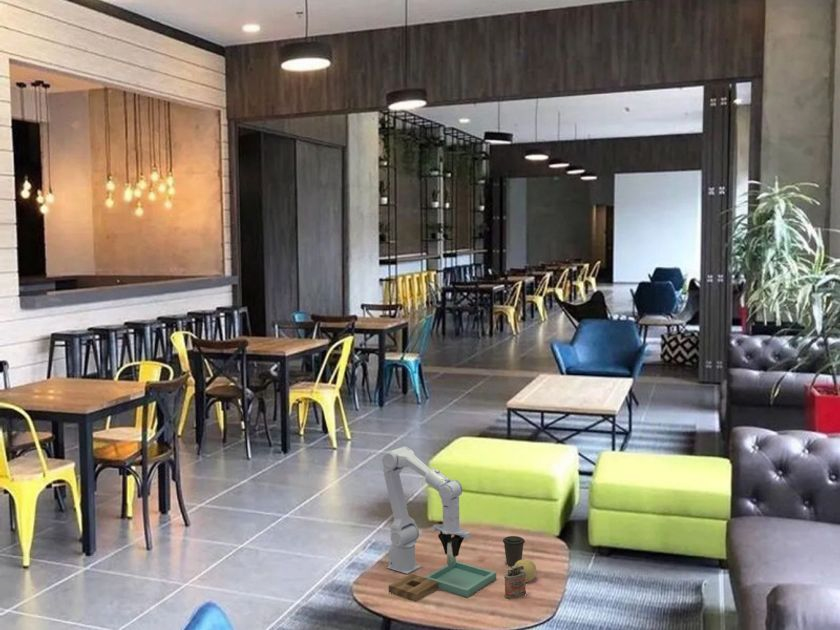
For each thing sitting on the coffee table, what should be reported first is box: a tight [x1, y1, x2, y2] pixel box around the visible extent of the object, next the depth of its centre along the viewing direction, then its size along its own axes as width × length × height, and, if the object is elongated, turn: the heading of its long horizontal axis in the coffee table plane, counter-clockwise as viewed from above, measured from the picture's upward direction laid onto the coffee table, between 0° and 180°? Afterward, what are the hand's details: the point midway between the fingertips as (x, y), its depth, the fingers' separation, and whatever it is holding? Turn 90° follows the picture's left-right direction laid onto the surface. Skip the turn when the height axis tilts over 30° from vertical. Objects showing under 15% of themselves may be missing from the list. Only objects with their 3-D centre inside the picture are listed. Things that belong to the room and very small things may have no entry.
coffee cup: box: [502, 535, 526, 568], centre depth 299 cm, size 8×8×10 cm
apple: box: [514, 558, 537, 583], centre depth 286 cm, size 8×8×8 cm
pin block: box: [388, 573, 439, 602], centre depth 279 cm, size 12×12×2 cm
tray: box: [423, 560, 497, 599], centre depth 285 cm, size 18×18×3 cm
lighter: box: [503, 565, 527, 600], centre depth 274 cm, size 8×3×10 cm, turn 117°
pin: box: [446, 540, 457, 566], centre depth 283 cm, size 3×3×8 cm
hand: (451, 554), depth 283 cm, fingers closed on pin, 3 cm apart
